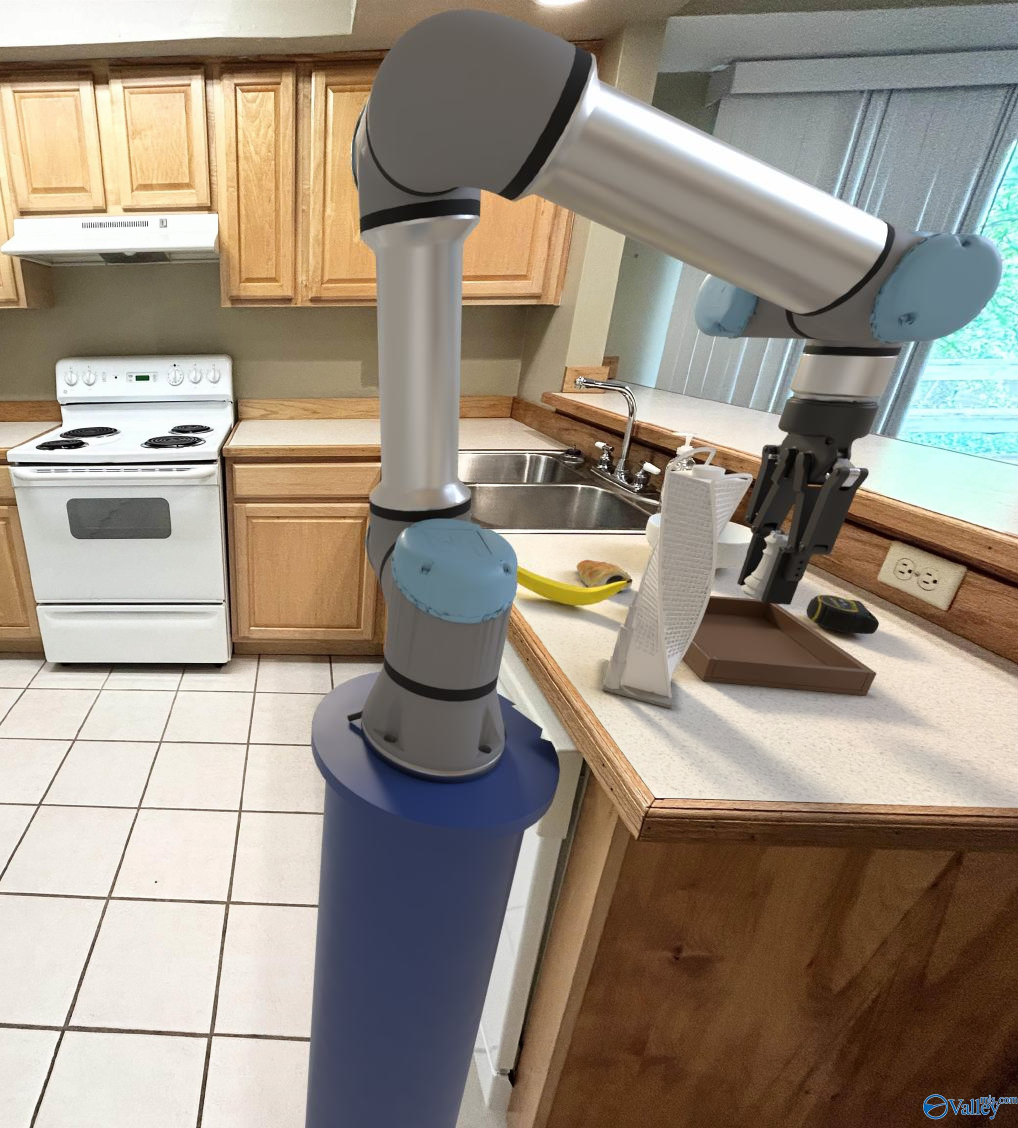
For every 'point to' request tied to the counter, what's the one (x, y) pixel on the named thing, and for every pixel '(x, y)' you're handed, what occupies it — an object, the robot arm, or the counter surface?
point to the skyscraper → (674, 581)
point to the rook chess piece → (765, 565)
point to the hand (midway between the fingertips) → (762, 593)
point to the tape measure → (841, 615)
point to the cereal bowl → (728, 544)
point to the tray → (770, 650)
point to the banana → (567, 589)
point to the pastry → (601, 574)
